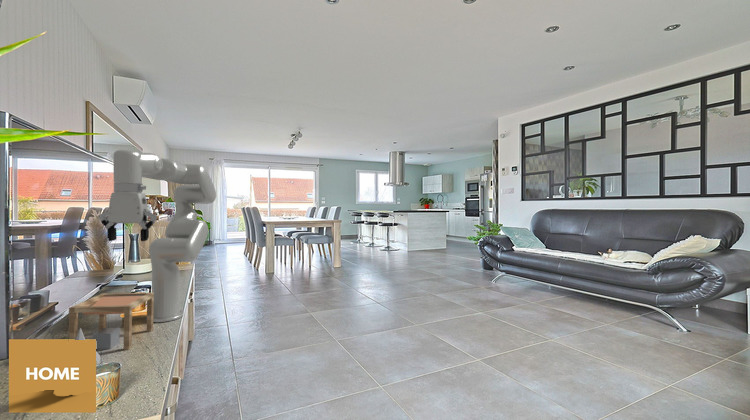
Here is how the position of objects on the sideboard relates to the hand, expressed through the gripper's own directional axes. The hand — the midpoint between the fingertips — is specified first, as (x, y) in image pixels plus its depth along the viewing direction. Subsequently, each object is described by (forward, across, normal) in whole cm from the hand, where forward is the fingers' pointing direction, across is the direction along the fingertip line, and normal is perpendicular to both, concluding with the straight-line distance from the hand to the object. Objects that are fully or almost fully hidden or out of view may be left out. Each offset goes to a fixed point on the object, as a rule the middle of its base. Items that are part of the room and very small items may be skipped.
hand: (128, 240), depth 113 cm
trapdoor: (+22, +4, 0) cm, 22 cm away
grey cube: (+31, +4, +3) cm, 31 cm away
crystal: (+33, -4, +30) cm, 44 cm away
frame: (+33, +4, +1) cm, 33 cm away
